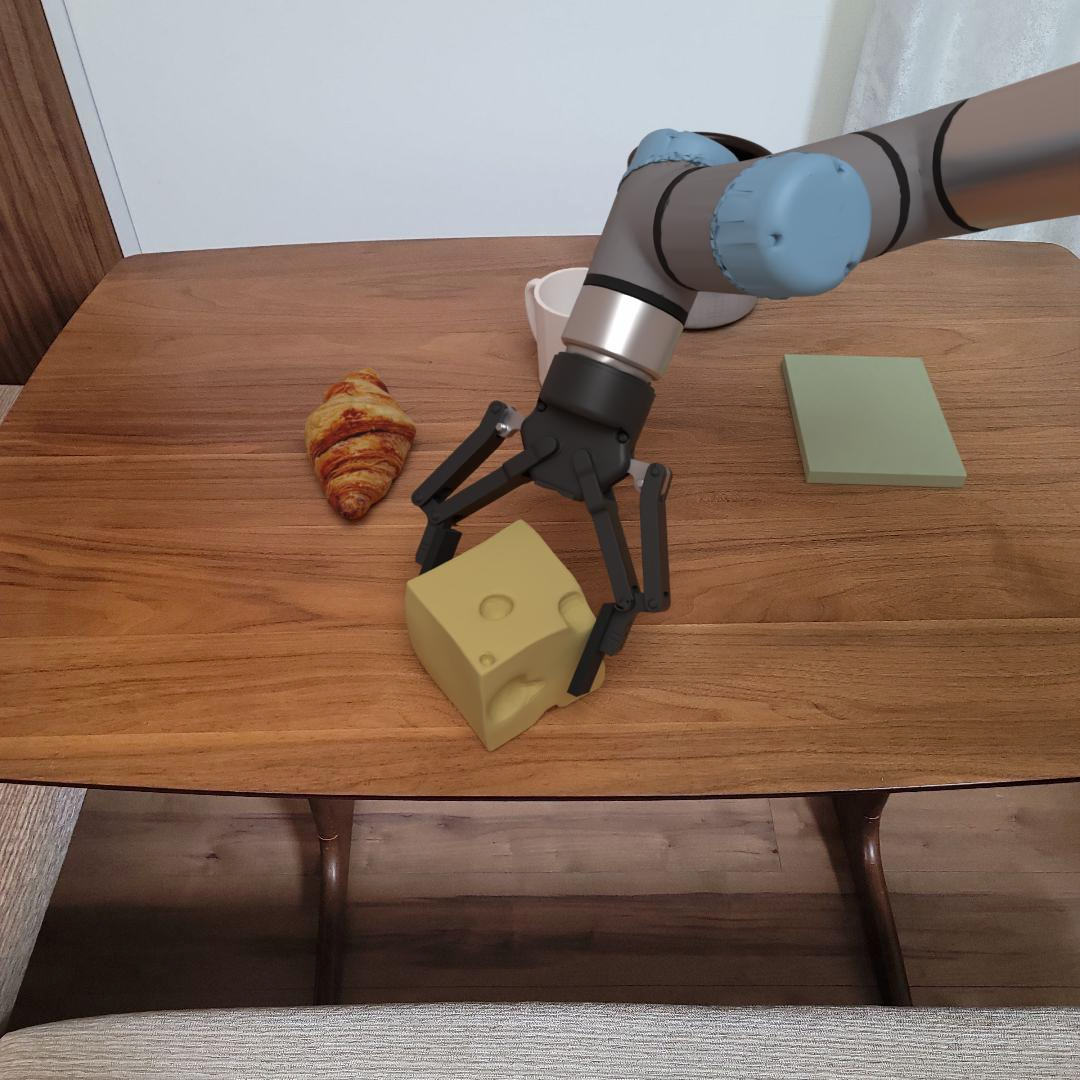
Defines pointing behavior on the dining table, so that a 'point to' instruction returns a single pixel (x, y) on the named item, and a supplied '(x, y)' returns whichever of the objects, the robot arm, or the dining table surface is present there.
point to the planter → (711, 305)
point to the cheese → (501, 631)
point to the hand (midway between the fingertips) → (495, 651)
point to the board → (870, 422)
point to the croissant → (357, 442)
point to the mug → (552, 311)
